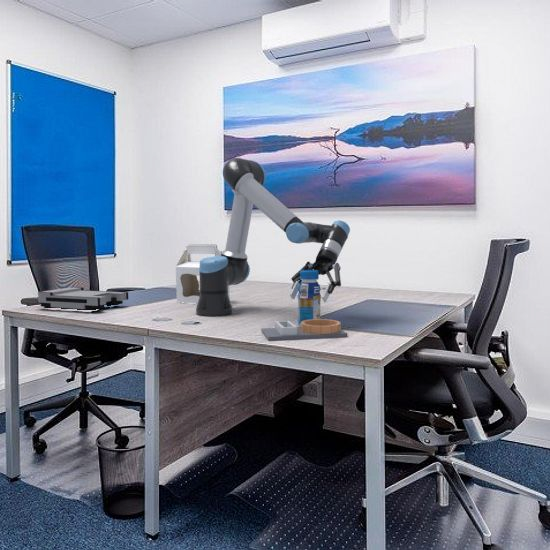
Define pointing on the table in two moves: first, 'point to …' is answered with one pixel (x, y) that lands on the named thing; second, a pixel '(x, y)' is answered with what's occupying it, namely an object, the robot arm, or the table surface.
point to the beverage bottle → (309, 296)
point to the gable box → (191, 272)
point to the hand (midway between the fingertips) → (307, 298)
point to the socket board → (299, 335)
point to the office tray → (80, 298)
